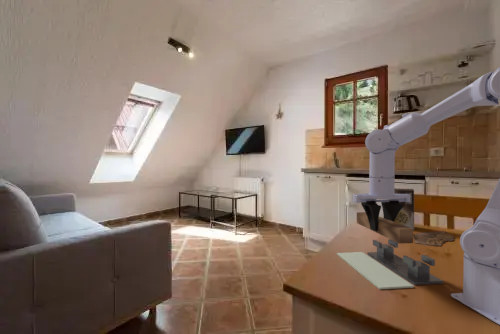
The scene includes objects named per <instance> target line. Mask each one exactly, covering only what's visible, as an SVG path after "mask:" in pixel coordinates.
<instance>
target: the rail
mask: <svg viewBox="0 0 500 334" xmlns="http://www.w3.org/2000/svg"><path fill="white" fill-rule="evenodd" d="M356 224H358V225H360V226H362V227H364V228H366V229H368V230H370V231H372V232H373V233H374V232H375V233H377V234H379V235H381V236H382V237H385V238H386V239H391V240H393V241H395V242H397V243H398V245H399V244H413V243H414V235H413V234H414V229H412V228H409V227H407V226H404V225H401V224H398V223H396V222H393V221H390V220H387V219H385V218H384V217H381V216H379V219H378V231H373V230H371V229H370V224H369V220H368V217H367V215H366V212H365V211H360V212H359V211H357V212H356Z"/></svg>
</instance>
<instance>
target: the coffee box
mask: <svg viewBox="0 0 500 334" xmlns="http://www.w3.org/2000/svg"><path fill="white" fill-rule="evenodd" d="M394 194H409V195H410V202H399V203H401V204H403V208H402V209H401V210H400V212H399V213H398V215H397V217H396V219H395V221H394V222H396V223H398V224H401V225H404V226H407V227H409V228H412V229H413V230H415V190H414V189H413V188H396V187H394ZM388 200H390V199H388Z"/></svg>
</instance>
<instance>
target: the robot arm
mask: <svg viewBox="0 0 500 334" xmlns="http://www.w3.org/2000/svg"><path fill="white" fill-rule="evenodd" d="M499 101H500V66H499V67H498V68H497V69H496V70H495V71H489V72H487V73H484V74H483V75H482V76H480V77H478V78H477V79H475V80H474V81H472V82H471V83H470V84H468V85H466V86H465V87H463V88H461V89H460V90H458V91H456V92H455V93H454V94H452V95H450V96H448V97H447V98H445V99H443V100H442V101H440V102H438V103H437V104H435V105H433V106H432V107H429V108H428V109H426V110H425V111H423V112H422V113H421V112H416V111H413V112H411V113H408V112H406V113H404V114H402V115H401V118H400V119H398V120H396V121H394V122H393V123H391V124H386V125H384V126H383V128H382V129H373V130H371V132H369V133H368V134H367V136H366V138H365V141H364V143H365V144H364V145H365V147H366V149H367V150H368V151H369V171H368V172H369V173H368V175H369V176H368V177H369V179H368V181H369V184H368V191H369V192H368V193H356V194H355V193H353V194H352V202H353V203H356V204H361V208H363V210H364V212H366V215H367V217H368V220H369V224H370V229H371V230H370V229H369V230H370V231H372V230H373V231H372V232H374V231H378V219H379V217H380V212H381V209H382V213H383V218H385V219H387V220H390V221H393V222H394V221H395V219H396V217H397V215H398V213H399V212H400V210H401V209H402V208H403V204H401V203H399V202H410V195H409V194H394V188H395V180H396V179H395V175H396V174H395V173H396V171H395V169H396V167H395V165H396V164H395V163H396V161H395V160H396V152H397V151H398V149H399V148H400V147H402V146H403V145H405V144H408V143H410V142H412V141H414V140H416V139H418V138H421V137H423V136H424V135H427V134H428V132H429V130H430V129H431V126H433V125H435V124H437V123H439V122H441V121H444V120H446V119H448V118H450V117H453V116H455V115H457V114H460V113H462V112H464V111H466V110H468V109H471V108H473V107H476V106H479V107H481V106H483V107H484V106H499V103H500V102H499ZM494 187H495V188H494V189H493V192H492V193H491V196H490V198H489V200H488V202H487V204H486V206H485V208H484V209H483V210H482V212H480V214H479V216H478V217H477V218H476V219H475V222H474V224H473V225H472V226H471V227H470V228H468V229H466V230H464V231H463V232H462V234H461V235H460V238H459V243H460V247H461V249H462V251H463V277H462V279H463V283H462V285H463V286H462V288H463V290H462V292H457V293H455V292H453V293H451V294H450V297H452V298H453V299H455V300H457V301H459V302H460V303H462V304H464V305H465V306H467V307H469V308H470V309H472V310H473V311H475V312H477V313H479V314H480V315H482V316H484V317H485V318H486V319H489V320H490V321H492V322H494V323H496V324H497V325H499V326H500V178H499V179H498V181H497V183H496V186H494ZM389 199H390V200H389ZM378 203H380V204H378Z"/></svg>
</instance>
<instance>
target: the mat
mask: <svg viewBox="0 0 500 334" xmlns="http://www.w3.org/2000/svg"><path fill="white" fill-rule="evenodd" d="M336 255H337V256H338V257H339V258H341V259H342V260H343V261H344V262H346V263H347V264H348V265H349V266H350V267H351V268H353V269H354V270H355V271H357V272H358V273H359V274H360V275H361V276H362V277H363V278H365V279H366V280H367V281H369V283H371V284H372V285H373V286H374V287H376V288H377V289H378V290H392V289H393V290H394V289H395V290H396V289H411V288H414V287H415V285H414V284H412V283H411V282H409V281H408V280H406V279H405V278H403V277H401V276H400V275H398V274H397V273H395V272H394V271H392V270H391V269H389V268H388V267H386V266H384V265H383V264H381V263H380V262H378V261H377V260H375V259H374V258H372V257H371V256H369V255H367V253H364V252H363V251H357V252H356V251H354V252H352V251H351V252H350V251H349V252H336Z"/></svg>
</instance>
